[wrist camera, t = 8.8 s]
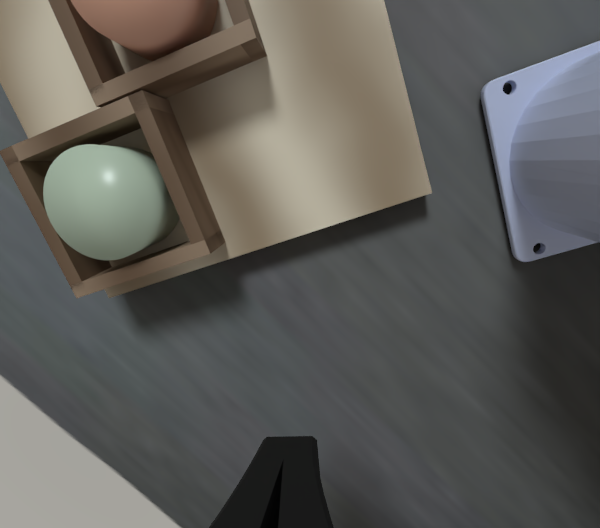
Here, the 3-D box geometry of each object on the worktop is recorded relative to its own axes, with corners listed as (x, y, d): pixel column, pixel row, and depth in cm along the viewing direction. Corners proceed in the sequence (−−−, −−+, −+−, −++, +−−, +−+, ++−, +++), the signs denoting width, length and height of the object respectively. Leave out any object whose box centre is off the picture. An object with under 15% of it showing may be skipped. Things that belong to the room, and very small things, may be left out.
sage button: (156, 132, 15) (122, 126, 13) (196, 228, 16) (172, 240, 14) (70, 166, 16) (22, 168, 14) (114, 257, 17) (77, 273, 15)
